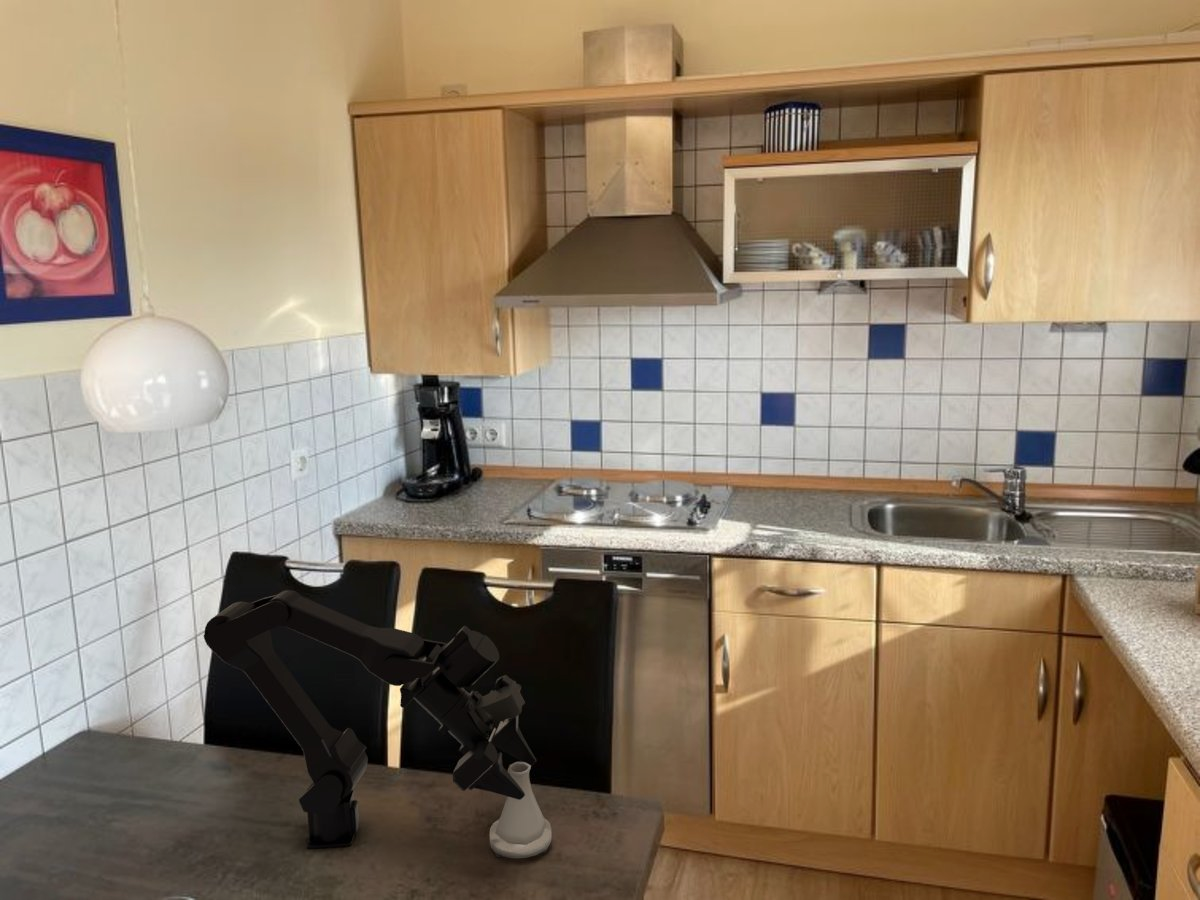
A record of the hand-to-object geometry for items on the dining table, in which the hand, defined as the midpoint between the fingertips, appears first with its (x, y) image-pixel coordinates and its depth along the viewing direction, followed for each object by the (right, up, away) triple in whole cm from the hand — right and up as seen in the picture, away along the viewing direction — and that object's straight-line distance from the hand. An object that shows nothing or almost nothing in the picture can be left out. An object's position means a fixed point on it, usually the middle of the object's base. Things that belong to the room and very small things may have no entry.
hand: (528, 779), depth 132 cm
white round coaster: (-1, -10, +2) cm, 11 cm away
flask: (-1, -8, +2) cm, 8 cm away
